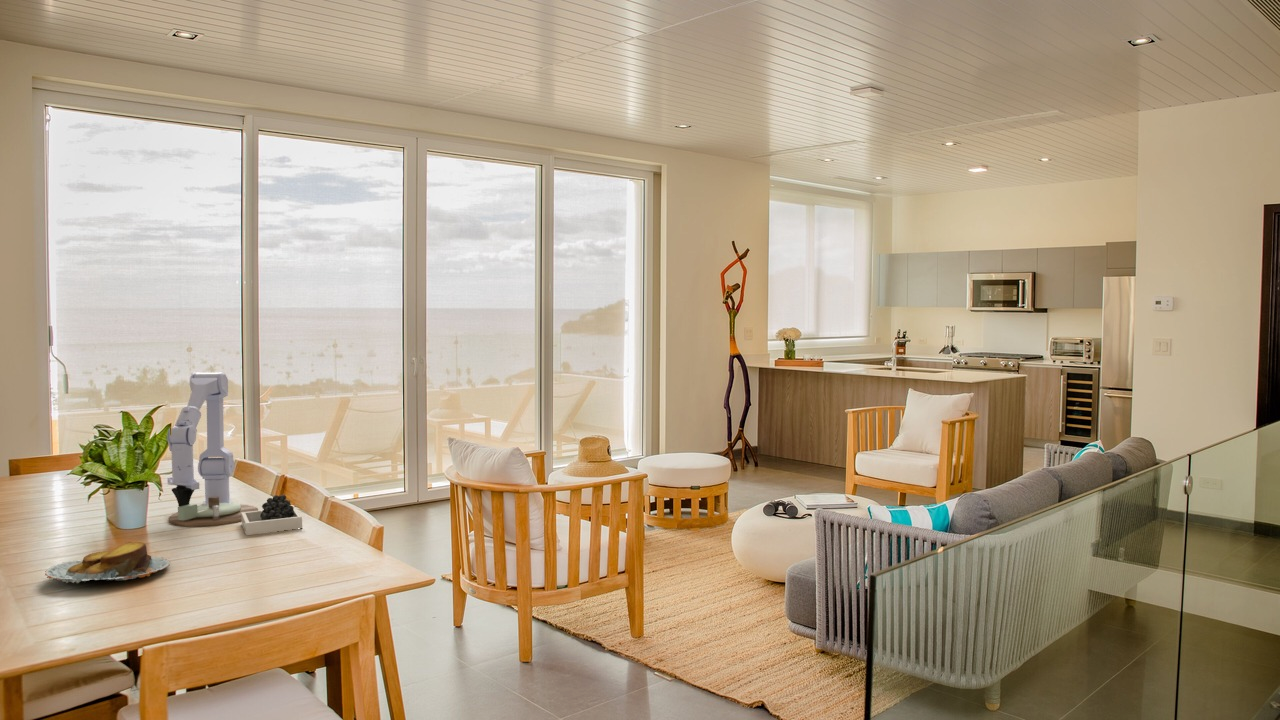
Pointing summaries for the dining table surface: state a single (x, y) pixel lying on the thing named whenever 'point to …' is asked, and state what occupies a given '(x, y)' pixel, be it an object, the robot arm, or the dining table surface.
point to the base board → (209, 520)
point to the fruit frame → (269, 523)
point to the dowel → (215, 513)
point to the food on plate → (109, 565)
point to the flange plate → (206, 510)
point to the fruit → (276, 508)
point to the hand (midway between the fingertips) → (184, 510)
